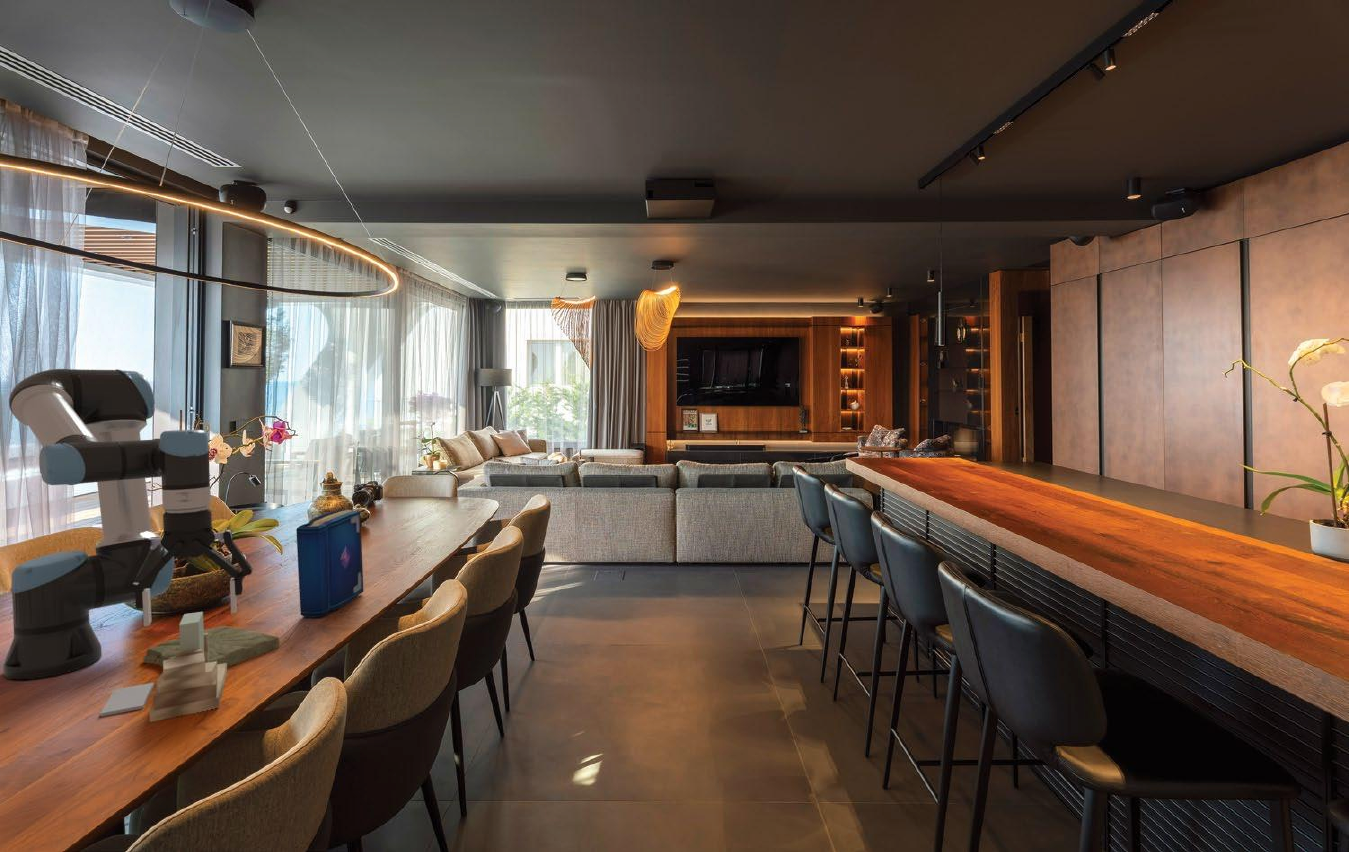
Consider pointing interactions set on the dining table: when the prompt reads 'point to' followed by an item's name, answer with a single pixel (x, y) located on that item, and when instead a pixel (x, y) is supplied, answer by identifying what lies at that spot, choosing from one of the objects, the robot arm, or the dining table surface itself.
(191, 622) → the pale green block
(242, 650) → the decorative tile
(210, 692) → the offcut bottom
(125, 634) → the dining table surface
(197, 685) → the block
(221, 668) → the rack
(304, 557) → the book
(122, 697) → the felt mat
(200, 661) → the offcut top
